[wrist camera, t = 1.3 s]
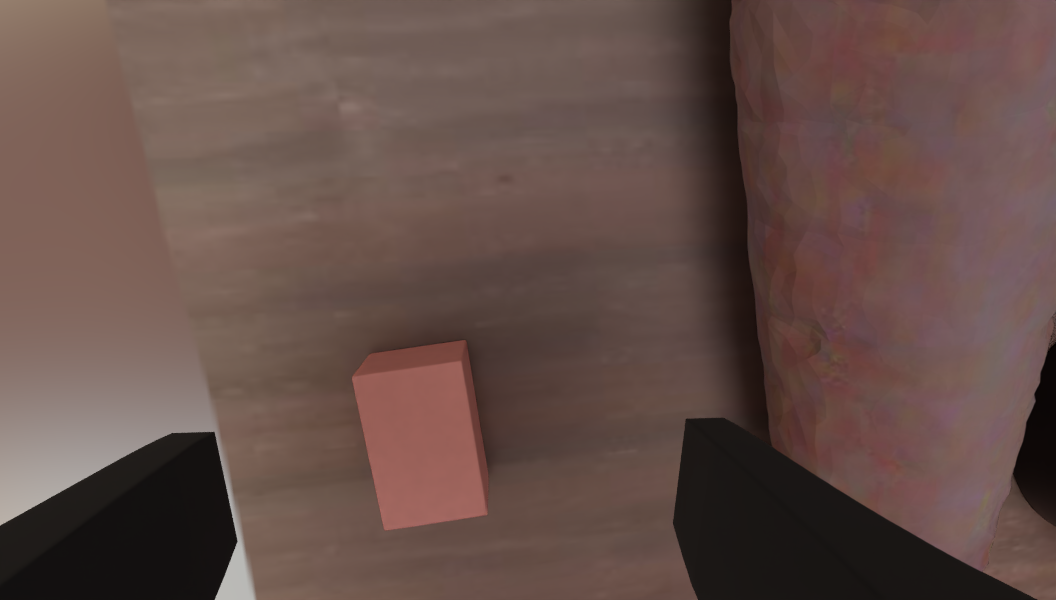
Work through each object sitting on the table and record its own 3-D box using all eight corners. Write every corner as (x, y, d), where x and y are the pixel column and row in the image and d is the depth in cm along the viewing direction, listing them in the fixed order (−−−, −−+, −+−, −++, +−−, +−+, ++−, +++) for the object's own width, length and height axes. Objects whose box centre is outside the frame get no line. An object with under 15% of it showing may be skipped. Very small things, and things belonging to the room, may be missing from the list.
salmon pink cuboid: (488, 477, 21) (487, 515, 19) (397, 491, 21) (383, 531, 18) (466, 339, 20) (461, 360, 17) (369, 353, 20) (351, 376, 17)
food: (670, -58, 18) (840, -301, 9) (957, -112, 18) (1401, -403, 9) (742, 527, 22) (904, 750, 13) (972, 479, 22) (1284, 669, 13)
